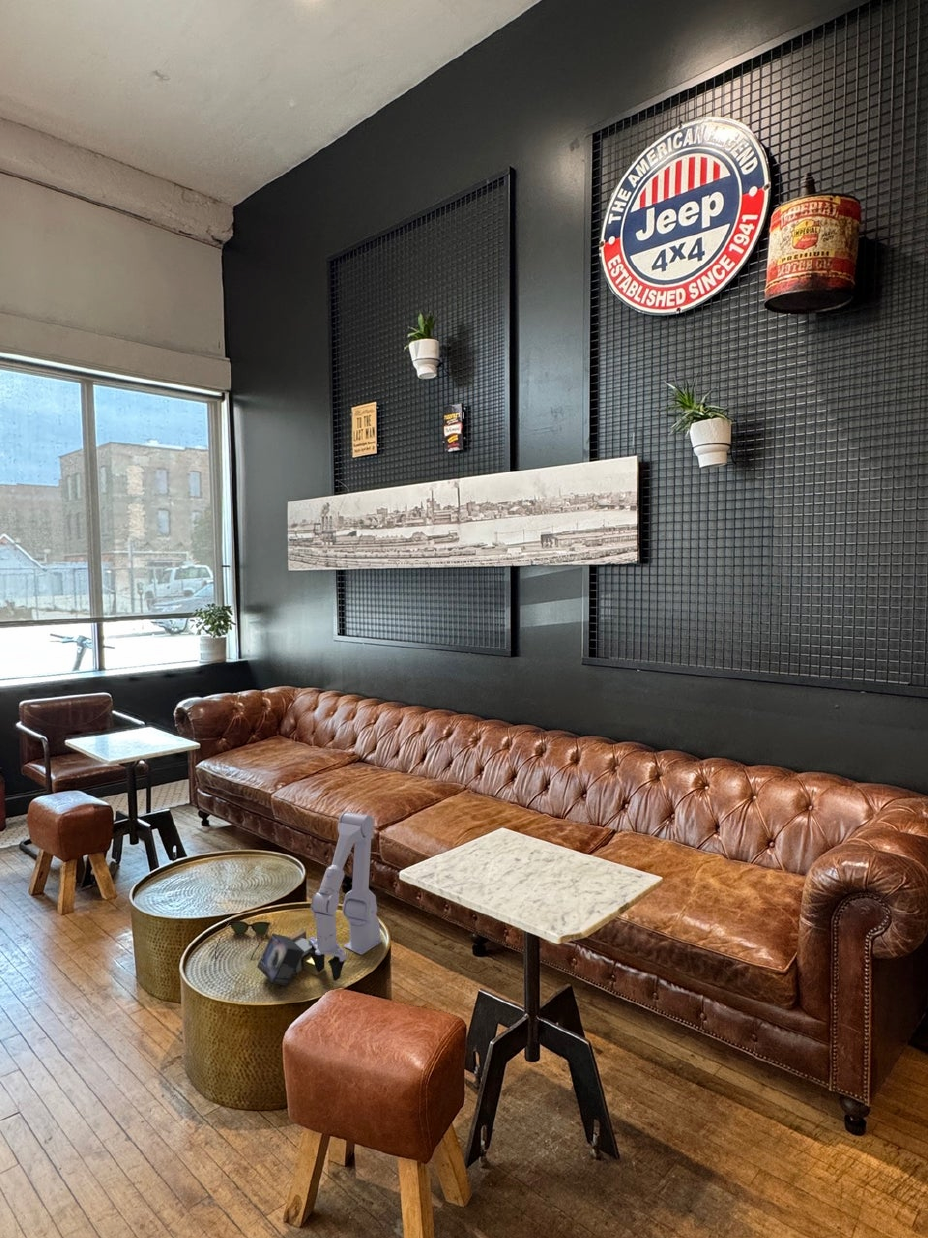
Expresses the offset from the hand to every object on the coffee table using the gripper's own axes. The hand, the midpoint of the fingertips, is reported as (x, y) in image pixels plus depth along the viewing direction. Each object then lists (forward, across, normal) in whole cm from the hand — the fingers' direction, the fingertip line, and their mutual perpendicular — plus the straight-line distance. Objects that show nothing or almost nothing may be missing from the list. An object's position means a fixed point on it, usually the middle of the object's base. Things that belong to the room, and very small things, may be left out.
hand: (328, 974), depth 217 cm
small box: (0, -13, -11) cm, 17 cm away
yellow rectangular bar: (+2, -9, +1) cm, 10 cm away
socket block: (+2, -14, 0) cm, 14 cm away
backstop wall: (+2, -19, 0) cm, 19 cm away
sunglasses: (+2, -36, -5) cm, 36 cm away
